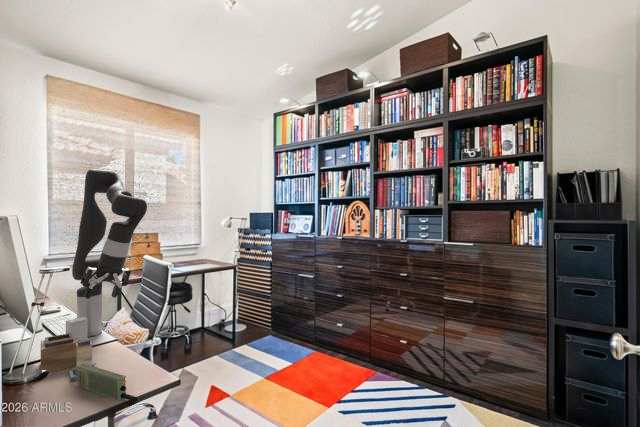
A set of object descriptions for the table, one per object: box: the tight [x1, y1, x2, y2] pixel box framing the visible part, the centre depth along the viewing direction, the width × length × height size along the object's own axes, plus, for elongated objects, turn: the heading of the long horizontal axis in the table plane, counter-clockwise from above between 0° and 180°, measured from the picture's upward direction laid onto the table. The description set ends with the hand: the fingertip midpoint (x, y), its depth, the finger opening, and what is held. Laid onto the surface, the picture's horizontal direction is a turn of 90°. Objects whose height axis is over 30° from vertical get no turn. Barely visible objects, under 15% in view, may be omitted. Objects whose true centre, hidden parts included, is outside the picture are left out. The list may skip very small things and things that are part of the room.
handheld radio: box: [76, 363, 138, 403], centre depth 103 cm, size 7×3×25 cm
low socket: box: [68, 362, 99, 383], centre depth 115 cm, size 8×8×1 cm
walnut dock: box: [40, 333, 78, 373], centre depth 122 cm, size 10×10×9 cm
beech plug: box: [75, 337, 93, 376], centre depth 115 cm, size 4×4×11 cm
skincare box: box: [65, 317, 88, 342], centre depth 134 cm, size 6×4×12 cm
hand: (100, 297), depth 118 cm, fingers open, 8 cm apart
